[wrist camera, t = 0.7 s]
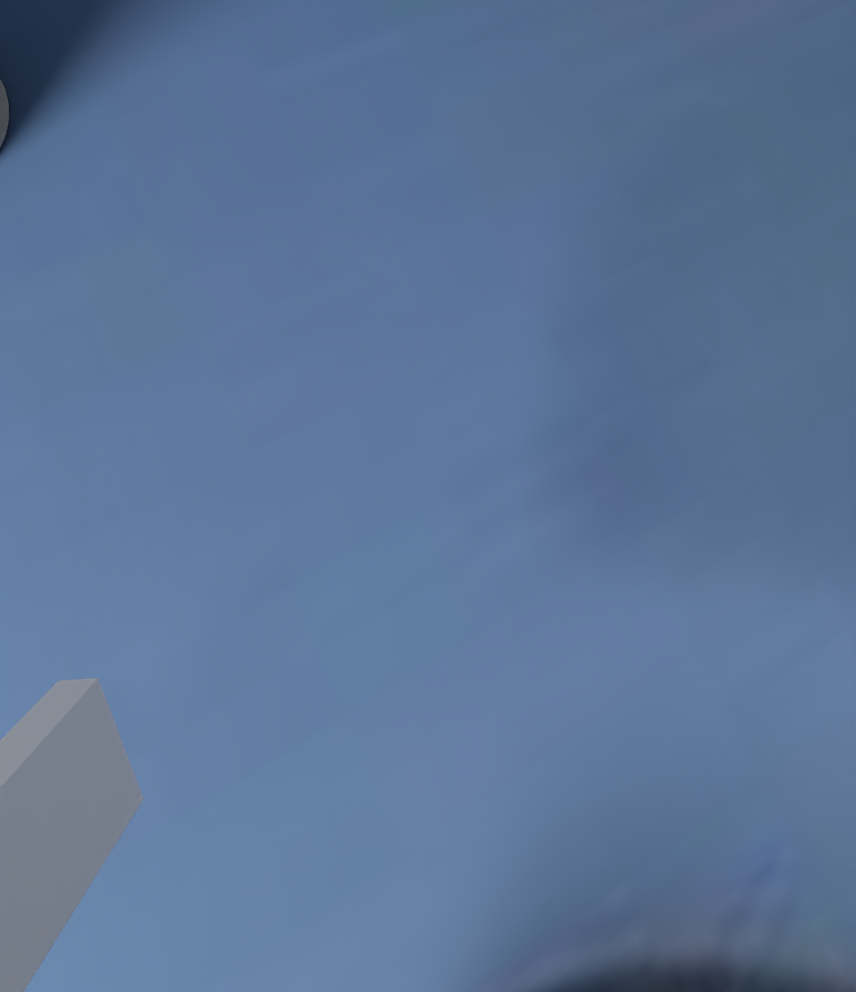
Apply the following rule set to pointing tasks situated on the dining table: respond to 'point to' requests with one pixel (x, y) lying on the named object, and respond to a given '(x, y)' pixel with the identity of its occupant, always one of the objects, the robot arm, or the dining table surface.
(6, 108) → the thermos bottle
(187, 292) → the dining table surface
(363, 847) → the dining table surface
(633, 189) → the dining table surface
